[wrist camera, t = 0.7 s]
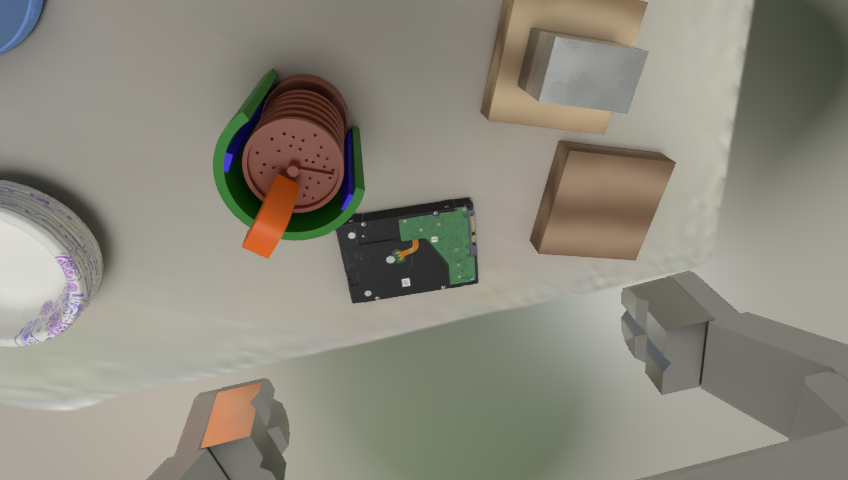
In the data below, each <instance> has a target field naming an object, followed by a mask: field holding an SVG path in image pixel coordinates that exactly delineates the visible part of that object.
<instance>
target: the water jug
mask: <svg viewBox="0 0 848 480" xmlns="http://www.w3.org/2000/svg"><path fill="white" fill-rule="evenodd" d="M42 5H43V0H0V54H3V53H5V52H7V51H9V50H11V49H12V48H14V47H16V46H17V45H18V44H20V43H21V42H22V41H23V40H24V39H25V38H26V37H27V36H28V35H29V33H30V32H31V31H32V29H33V28H34V26H35V24H36V23H37V20H38V18H39V16H40V13H41V9H42Z"/></svg>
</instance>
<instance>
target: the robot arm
mask: <svg viewBox="0 0 848 480" xmlns="http://www.w3.org/2000/svg"><path fill="white" fill-rule="evenodd" d="M621 303H622V304H623V306H624V307H625V308H626V309H627V310H626V312H625V313H624V315H623V316H622V318H621V324H622V332H623V336H624V339H625V342H626V344H627V346H628V348H629V350H630V351H631V353H632V354H633V355H634V357H635V358H636V359H639V360H641V361H643V362H645V363H646V366H645V367H646V368H645V369H646V370H645V372H646V374H647V375H648V377H649V378H650V379H651V381H652V382H653V383H654V385H655V386H656V388H657V389H658V390H659V392H660V393H661V394H662V395H664V394H668V393H672V392H677V391H681V390H686V389H690V388H695V387H699V386H701V388H702V389H703V390H705V391H707V392H709V393H711V394H712V395H714V396H716V397H718V398H719V399H721V400H723V401H725V402H726V403H728V404H730V405H731V406H733V407H735V408H737V409H738V410H740V411H742V412H744V413H746V414H747V415H749V416H751V417H753V418H754V419H756V420H758V421H760V422H761V423H763V424H765V425H767V426H768V427H770V428H772V429H774V430H775V431H777V432H779V433H781V434H783V435H784V436H786V437H788V438H789V441H786V442H782V443H778V444H774V445H770V446H766V447H762V448H759V449H755V450H751V451H747V452H743V453H739V454H735V455H731V456H727V457H723V458H720V459H715V460H712V461H707V462H704V463H700V464H696V465H692V466H688V467H684V468H680V469H676V470H672V471H669V472H664V473H661V474H657V475H653V476H649V477H645V478H641V479H637V480H848V345H847V344H844V343H841V342H838V341H835V340H832V339H829V338H826V337H823V336H819V335H816V334H813V333H810V332H807V331H804V330H801V329H798V328H795V327H792V326H788V325H785V324H782V323H779V322H776V321H773V320H770V319H767V318H764V317H761V316H758V315H755V314H751V313H748V312H746V313H741V314H740V313H739V312H738V311H737V310H736V309H734V308H733V307H732V306H731V305H730V304H729V303H728V302H727V301H726V300H724V299H723V298H722V297H721V296H720V295H719V294H717V292H715V291H714V290H713V289H712V288H711V287H710V286H709V285H708V284H706V283H705V282H704V281H703V280H702V279H701V278H700V277H699V276H697V275H696V274H695V273H694V272H691V271H686V272H682V273H678V274H675V275H671V276H667V277H666V278H661V279H657V280H653V281H649V282H645V283H642V284H638V285H634V286H630V287H626V288H623V291H622V293H621ZM274 390H275V389H274V388H273V386H272V384H271V382H270V381H269V379H266V378H263V379H259V380H254V381H250V382H245V383H241V384H237V385H232V386H228V387H223V388H221V389H217V390H212V391H208V392H203V393H200V394H199V395H197V396H196V398H195V399H194V401H193V404H192V407H191V410H190V413H189V416H188V418H187V422H186V424H185V427H184V430H183V433H182V436H181V438H180V441H179V444H178V447H177V450H176V453H175V455H174V457H170V458H167V459H166V460H165V461H164V462H163V463H162V464H161V465H160V466H159V467H158V469H156V471H154V472H153V474H152V475H151V476H150V477H149V478H148V479H147V480H284V477H285V469H286V462H285V460H284V458H283V456H282V453H283V452H284V451H285V449H286V448H287V447H288V445H289V435H290V432H289V422H288V418H287V414H286V411H285V409H284V407H283V405H282V403H280V402H278V401H276V400H274V399H273V397H274Z"/></svg>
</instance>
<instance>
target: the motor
mask: <svg viewBox="0 0 848 480" xmlns="http://www.w3.org/2000/svg"><path fill="white" fill-rule="evenodd" d="M276 77H277V73H276V72H275V71H274V69H272V70H271V71H269V72H268V73H267V74H266V75H265V76H264V77H263V78H262V79H261V81H260V82H259V84H258V85H257V86H256V88H255V89H254V90H253V92H252V93H251V94H250V96H249V97H248V98H247V100H246V101H245V102H244V104H243V105H242V106H241V108H240V109H239V110H238V112H237V113H236V114H235V116H234V117H233V118H232V120H231V121H230V122H229V124H228V125H227V126H226V128H225V129H224V130H223V132H222V134H221V135H220V137H219V140H218V142H217V145H216V148H215V152H214V158H213V172H214V178H215V182H216V186H217V189H218V191H219V193H220V195H221V197H222V199H223V201H224V202H225V204H226V205H227V207H228V208H229V209H230V211H231V212H232V213H233V214H234V215H235V216H236V217H237V218H238V219H239V220H241V221H242V222H243V223H244V224H246V225H247V226H249V227H250V228H249V230H248V232H247V234H246V237H245V240H244V242H243V245H242V247H243V248H245V249H247V250H250V251H252V252H254V253H256V254H259V255H261V256H263V257H265V258H269V257H270V255H271V253H272V252H273V250H274V249H275V247H276V245H277V244H278V242H279V240H280V239H284V240H307V239H313V238H317V237H320V236H323V235H325V234H328V233H330V232H332V231H334V230H335V229H337V228H338V227H340V226H341V225H343V224H344V223H345V222H346V221H347V220H348V219H349V218H350V217H351V216H352V215H353V213H354V212H355V211H356V209H357V208H358V206H359V204H360V202H361V200H362V198H363V195H364V191H365V186H364V175H363V164H362V153H361V142H360V131H359V128H356V127H352V131H351V132H347V127H348V116H347V108H346V105H345V102H344V100H343V98H342V96H341V95H340V93H339V92H338V91H337V89H336V88H335V87H334V86H332V85H331V84H330V83H329V82H327V81H325V80H324V79H322V78H319V77H316V76H313V75H304V74H303V75H294V76H291V77H288V78H286V79H284V80H282V81H281V82H279V83H278V84H277V85H276V86H275V87H274V88H273V90H272V91H271V93H270V94H269V96H268V98H267V99H266V100H263V98H264V96H265V95H266V93H267V91H268V90H269V88H270V87H271V85H272V83H273V82H274V80H275V79H276ZM261 114H262V117H261V119H260V118H259V117H260V116H261ZM346 133H347V134H346Z"/></svg>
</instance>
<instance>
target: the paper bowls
mask: <svg viewBox="0 0 848 480" xmlns="http://www.w3.org/2000/svg"><path fill="white" fill-rule="evenodd" d="M102 277H103V260H102V254H101V250H100V247H99V244H98V242H97V240H96V239H95V237H94V235H93V234H92V233H91V231H90V229H89V228H88V227H87V225H86V224H85V223H84V222H83V221H82V220H81V219H80V218H79V217H78V216H77V215H76V214H75V213H74V212H73V211H72V210H71V209H69V208H68V207H67V206H65V205H64V204H62V203H61V202H59V201H58V200H56V199H55V198H53V197H51V196H49V195H47V194H45V193H42V192H41V191H39V190H36V189H33V188H31V187H28V186H25V185H22V184H17V183H14V182H10V181H6V180H0V346H2V347H3V346H4V347H16V346H27V345H33V344H37V343H41V342H44V341H47V340H49V339H51V338H53V337H55V336H57V335H59V334H61V333H62V332H63V331H65V330H66V329H67V328H69V327H70V326H71V325H72V324H73V323H74V322H75V320H76V319H77V318H78V317H79V316H80V314H81V313H82V311H83V310H84V309H85V308H86V307H87V306H88V304H89V303H90V302H91V300H92V299H93V298H94V296H95V294H96V293H97V291H98V289H99V287H100V285H101V281H102Z"/></svg>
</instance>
